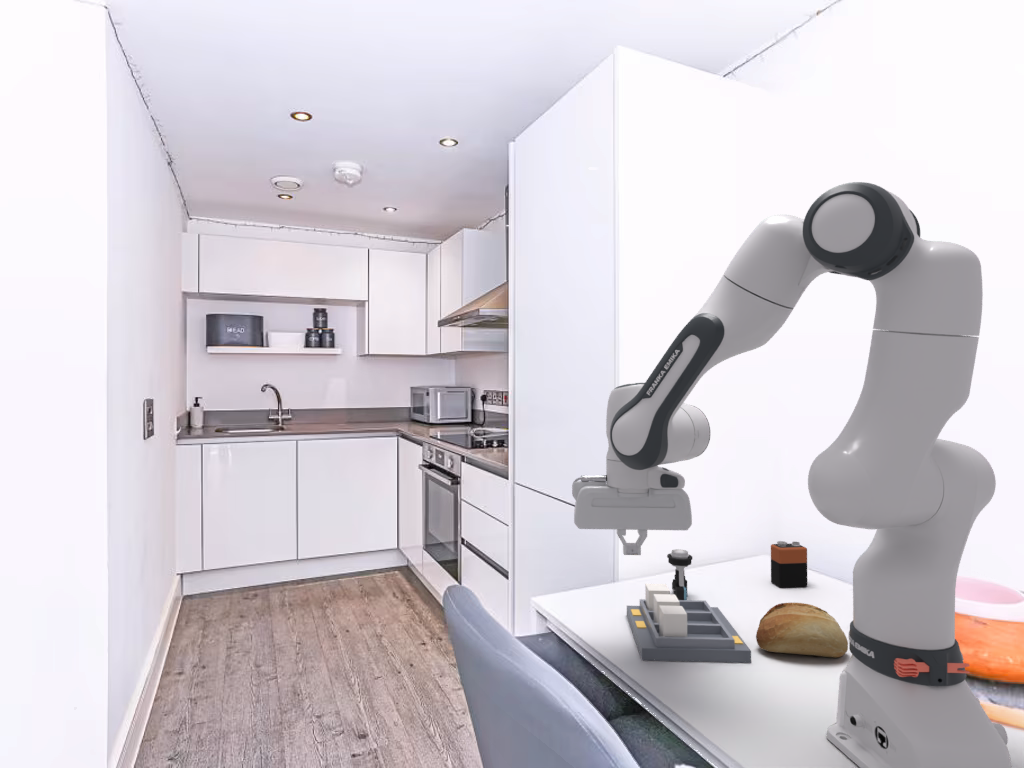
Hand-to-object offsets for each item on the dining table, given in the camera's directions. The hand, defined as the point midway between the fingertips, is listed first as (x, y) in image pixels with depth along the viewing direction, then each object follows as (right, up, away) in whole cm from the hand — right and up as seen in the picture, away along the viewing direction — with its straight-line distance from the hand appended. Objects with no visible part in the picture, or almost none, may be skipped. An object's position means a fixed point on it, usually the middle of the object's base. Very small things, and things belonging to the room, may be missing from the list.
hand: (631, 554), depth 106 cm
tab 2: (+7, -15, +5) cm, 17 cm away
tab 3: (+7, -14, -1) cm, 16 cm away
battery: (+43, -17, +34) cm, 58 cm away
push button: (+16, -17, +27) cm, 36 cm away
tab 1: (+7, -15, +11) cm, 20 cm away
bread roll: (+29, -17, -1) cm, 34 cm away
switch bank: (+10, -17, +5) cm, 20 cm away
